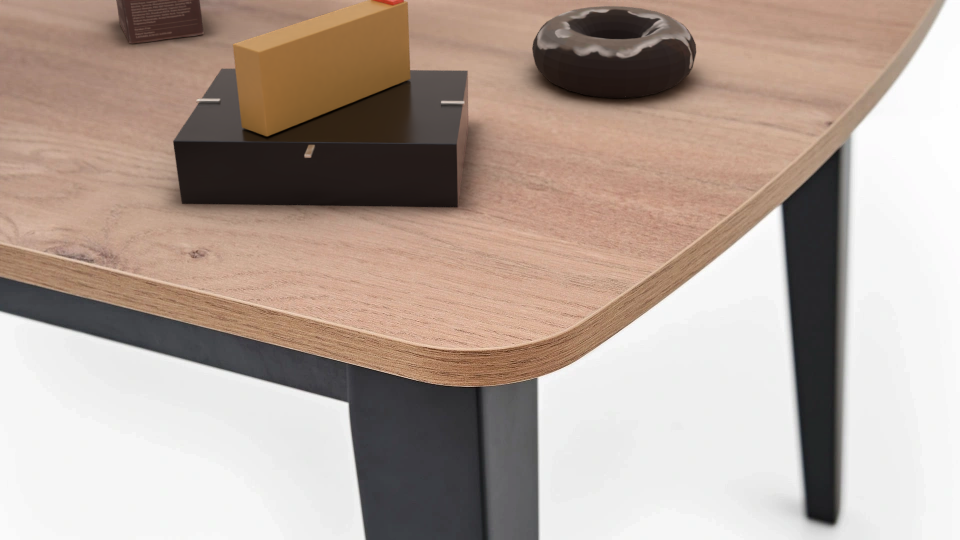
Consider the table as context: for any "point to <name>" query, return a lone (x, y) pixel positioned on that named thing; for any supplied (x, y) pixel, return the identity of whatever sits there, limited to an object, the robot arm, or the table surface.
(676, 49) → the donut
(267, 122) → the tan slab
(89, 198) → the table surface
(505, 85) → the table surface
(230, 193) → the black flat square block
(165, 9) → the box
